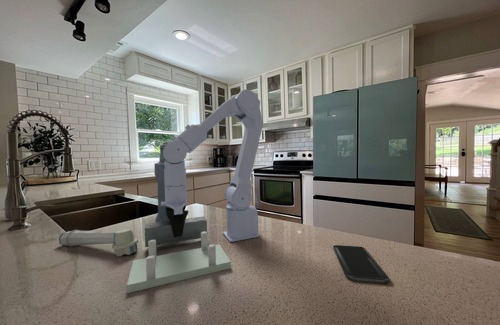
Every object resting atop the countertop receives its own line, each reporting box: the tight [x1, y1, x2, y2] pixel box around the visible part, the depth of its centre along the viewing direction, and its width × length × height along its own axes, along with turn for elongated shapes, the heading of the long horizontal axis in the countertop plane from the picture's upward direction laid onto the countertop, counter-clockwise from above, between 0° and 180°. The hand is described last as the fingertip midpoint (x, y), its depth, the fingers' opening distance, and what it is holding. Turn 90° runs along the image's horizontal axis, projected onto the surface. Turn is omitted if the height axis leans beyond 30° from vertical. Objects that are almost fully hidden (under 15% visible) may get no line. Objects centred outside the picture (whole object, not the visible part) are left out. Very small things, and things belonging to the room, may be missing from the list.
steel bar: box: [144, 215, 208, 248], centre depth 59 cm, size 16×4×5 cm, turn 113°
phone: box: [332, 244, 390, 285], centre depth 48 cm, size 8×1×15 cm
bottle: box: [153, 141, 170, 223], centre depth 72 cm, size 10×10×30 cm
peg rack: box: [126, 231, 232, 294], centre depth 47 cm, size 20×10×6 cm, turn 113°
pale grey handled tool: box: [58, 228, 139, 257], centre depth 57 cm, size 5×7×25 cm
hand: (177, 233), depth 59 cm, fingers closed on steel bar, 4 cm apart
